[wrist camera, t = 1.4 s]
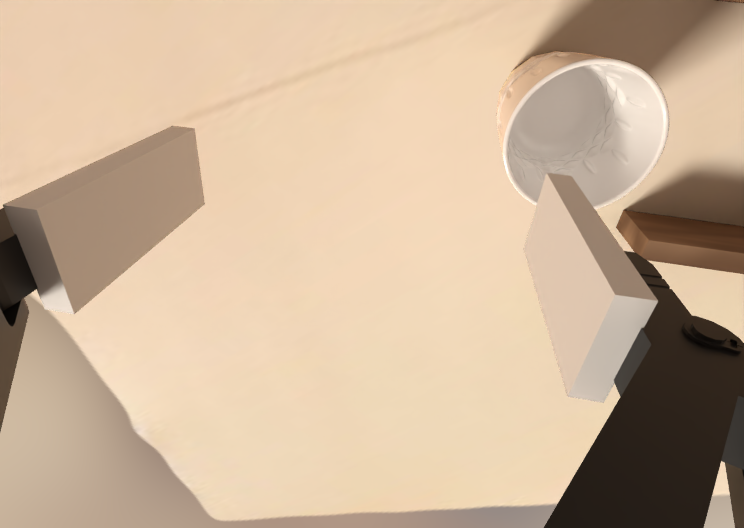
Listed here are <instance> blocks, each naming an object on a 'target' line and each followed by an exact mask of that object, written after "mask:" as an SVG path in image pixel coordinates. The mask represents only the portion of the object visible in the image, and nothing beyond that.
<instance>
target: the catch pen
mask: <svg viewBox="0 0 744 528" xmlns="http://www.w3.org/2000/svg"><path fill="white" fill-rule="evenodd" d="M717 1H727V2H738V3H744V0H717ZM616 228H617V229H618V230H619V232H620V233H621V234H622V236H623V237H624V238H625V240H626V241H627V242H628V244H629V245H630V246H631V248H632V249H633V251H634V252H635V253H637V254H638V255H640V256H641V257H643V258H644V259H646V260H650V261H657V262H664V263H671V264H678V265H685V266H692V267H699V268H706V269H712V270H719V271H726V272H733V273H740V274H744V227H743V226H736V225H728V224H721V223H714V222H706V221H699V220H692V219H684V218H677V217H670V216H662V215H655V214H648V213H640V212H633V211H626V210H623V213H622V215H621V217H620V220H619V222H618V224H617V227H616Z"/></svg>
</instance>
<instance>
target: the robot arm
mask: <svg viewBox="0 0 744 528" xmlns="http://www.w3.org/2000/svg"><path fill="white" fill-rule="evenodd" d="M204 204H205V203H204V195H203V188H202V181H201V173H200V166H199V158H198V151H197V144H196V136H195V129H194V128H186V127H178V126H171V127H169V128H167V129H165V130H163V131H161V132H158V133H156V134H154V135H152V136H150V137H148V138H146V139H143V140H141V141H139V142H137V143H135V144H133V145H130V146H128V147H126V148H124V149H122V150H120V151H118V152H115V153H113V154H111V155H109V156H107V157H105V158H103V159H100V160H98V161H96V162H94V163H92V164H90V165H87V166H85V167H83V168H81V169H79V170H77V171H75V172H72V173H70V174H68V175H66V176H64V177H62V178H59V179H57V180H55V181H53V182H51V183H49V184H47V185H44V186H42V187H40V188H38V189H36V190H34V191H31V192H29V193H27V194H25V195H23V196H21V197H19V198H16V199H14V200H12V201H10V202H8V203H6V204H3V207H4V208H2V209H0V431H1V427H2V422H3V418H4V414H5V410H6V406H7V402H8V398H9V393H10V389H11V385H12V381H13V377H14V373H15V368H16V364H17V360H18V356H19V352H20V348H21V343H22V339H23V335H24V331H25V327H26V323H27V318H28V314H29V310H28V306H27V304H26V301H25V299H24V297H25V296H27V295H28V294H30V293H31V292H33V291H34V290H36V289H37V291H38V293H39V296H40V298H41V301H42V303H43V306H44V308H45V309H46V310H52V311H58V312H64V313H70V314H75V313H76V312H77V311H79V310H80V309H81V308H82V307H83V306H85V305H86V304H87V303H88V302H89V301H90V300H92V299H93V298H94V297H95V296H96V295H98V294H99V293H100V292H101V291H102V290H103V289H105V288H106V287H107V286H108V285H109V284H111V283H112V282H113V281H114V280H115V279H116V278H118V277H119V276H120V275H121V274H122V273H124V272H125V271H126V270H127V269H128V268H130V267H131V266H132V265H133V264H134V263H135V262H137V261H138V260H139V259H140V258H141V257H143V256H144V255H145V254H146V253H147V252H148V251H150V250H151V249H152V248H153V247H154V246H156V245H157V244H158V243H159V242H160V241H161V240H163V239H164V238H165V237H166V236H167V235H169V234H170V233H171V232H172V231H173V230H174V229H176V228H177V227H178V226H179V225H180V224H182V223H183V222H184V221H185V220H186V219H187V218H189V217H190V216H191V215H192V214H193V213H195V212H196V211H197V210H198V209H199V208H200V207H202V206H203V205H204ZM523 249H524V253H525V256H526V259H527V263H528V266H529V269H530V273H531V276H532V279H533V283H534V286H535V289H536V293H537V296H538V299H539V303H540V306H541V309H542V313H543V316H544V319H545V323H546V326H547V330H548V333H549V336H550V340H551V343H552V346H553V350H554V353H555V356H556V360H557V363H558V366H559V370H560V373H561V376H562V380H563V383H564V386H565V390H566V393H567V396H568V397H572V398H578V399H584V400H590V401H596V402H602V403H604V401H605V400H606V398H607V396H608V394H609V392H610V390H611V388H612V387H613V385H614V383H615V385H616V387H617V390H618V392H619V394H620V396H621V397H620V399H619V401H618V402H617V404H616V406H615V407H614V409H613V411H612V413H611V414H610V416H609V418H608V419H607V421H606V423H605V424H604V426H603V428H602V430H601V431H600V433H599V435H598V436H597V438H596V440H595V441H594V443H593V445H592V447H591V448H590V450H589V452H588V453H587V455H586V457H585V458H584V460H583V462H582V464H581V465H580V467H579V469H578V470H577V472H576V474H575V475H574V477H573V479H572V481H571V482H570V484H569V486H568V487H567V489H566V491H565V492H564V494H563V496H562V498H561V499H560V501H559V503H558V504H557V506H556V508H555V509H554V511H553V513H552V515H551V516H550V518H549V520H548V521H547V523H546V525H545V526H544V528H703V527H704V524H705V520H706V516H707V512H708V508H709V505H710V501H711V497H712V493H713V490H714V486H715V482H716V478H717V474H718V471H719V467H720V463H721V461H723V462H725V466H726V472H727V479H728V485H729V491H730V498H731V504H732V511H733V517H734V523H735V528H744V343H743V342H742V341H741V340H740V338H738V337H737V336H736V335H734V334H733V333H732V332H730V331H729V330H728V329H726V328H724V327H722V326H720V325H718V324H716V323H714V322H712V321H709V320H706V319H703V318H700V317H697V316H692V315H691V314H690V313H689V311H688V310H687V309H686V307H685V306H684V305H683V304H682V302H681V301H680V300H679V298H678V297H677V296H676V294H675V293H674V292H673V290H672V289H669V285H668V284H667V283H666V281H665V280H664V279H662V276H661V275H660V274H659V272H658V271H657V270H656V268H655V267H654V266H653V264H651V263H650V262H648V261H647V260H646V259H644V258H643V257H641V256H640V255H638V254H637V253H634V252H627V251H623V249H622V248H621V247H620V245H619V244H618V242H617V241H616V239H615V238H614V236H613V235H612V234H611V232H610V231H609V229H608V228H607V226H606V225H605V223H604V222H603V221H602V219H601V218H600V216H599V215H598V213H597V212H596V210H595V209H594V208H593V206H592V205H591V203H590V202H589V200H588V199H587V197H586V196H585V195H584V193H583V192H582V190H581V189H580V187H579V186H578V184H577V183H576V182H575V180H574V179H573V177H572V176H568V175H560V174H552V173H546V176H545V180H544V183H543V186H542V189H541V193H540V196H539V199H538V203H537V206H536V209H535V212H534V216H533V219H532V222H531V225H530V229H529V232H528V235H527V238H526V242H525V245H524V248H523Z"/></svg>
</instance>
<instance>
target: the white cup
mask: <svg viewBox="0 0 744 528" xmlns="http://www.w3.org/2000/svg"><path fill="white" fill-rule="evenodd" d="M496 116H497V127H498V135H499V141H500V145H501V150H502V155H503V160H504V165H505V169H506V172H507V175H508V177H509V179H510V181H511V183H512V184H513V186H514V187H515V189H516V190H517V191H518V192H519V193H520V194H521V195H522V196H523V197H524V198H525V199H527V200H528V201H529V202H531V203H533V204H534V205H536V206H537V203H538V199H539V196H540V193H541V189H542V186H543V183H544V180H545V176H546V173H552V174H560V175H568V176H572V177H573V179H574V180H575V182H576V183H577V184H578V186H579V187H580V189H581V190H582V192H583V193H584V195H585V196H586V197H587V199H588V200H589V202H590V203H591V205H592V206H593V208H594V209H599V208H602V207H604V206H607V205H609V204H611V203H613V202H615V201H617V200H619V199H621V198H622V197H624V196H625V195H627V194H628V193H630V192H631V191H632V190H634V189H635V188H636V187H637V186H638V185H639V184H640V183H641V182H642V181H643V180H644V179H645V178H646V177H647V176H648V175H649V173H650V172H651V171H652V169H653V168H654V167H655V165H656V163H657V162H658V160H659V158H660V156H661V154H662V152H663V150H664V147H665V144H666V141H667V137H668V131H669V110H668V105H667V102H666V99H665V96H664V94H663V92H662V90H661V88H660V87H659V85H658V84H657V82H656V81H655V80H654V79H653V78H652V77H651V76H650V75H649V74H648V73H647V72H645V71H644V70H642V69H641V68H639V67H637V66H635V65H633V64H631V63H628V62H625V61H622V60H617V59H612V58H606V57H601V56H596V55H592V54H586V53H576V52H559V51H554V52H549V53H545V54H540V55H536V56H532V57H531V58H529V59H528V60H527V61H525V62H524V63H523V64H521V65H520V66H519V67H517V68H516V69H514V70H513V71H512V72H511V74H510V75H509V77H508V79H507V80H506V82H505V84H504V85H503V87H502V89H501V90H500V92H499V98H498V105H497V113H496Z"/></svg>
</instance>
